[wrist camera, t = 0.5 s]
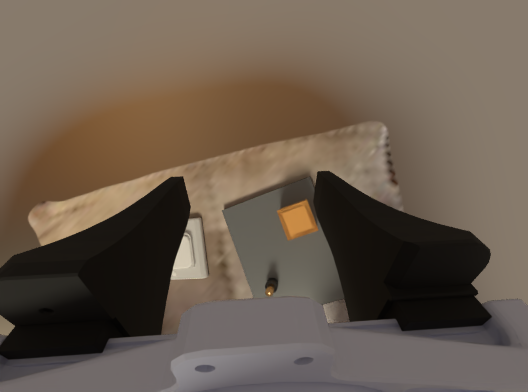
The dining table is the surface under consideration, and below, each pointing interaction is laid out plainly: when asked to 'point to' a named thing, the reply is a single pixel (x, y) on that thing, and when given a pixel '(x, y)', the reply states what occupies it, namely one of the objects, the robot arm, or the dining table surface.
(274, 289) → the wire post
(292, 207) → the orange panelled cube
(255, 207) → the board
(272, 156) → the dining table surface
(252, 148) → the dining table surface
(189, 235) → the light switch
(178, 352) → the robot arm
